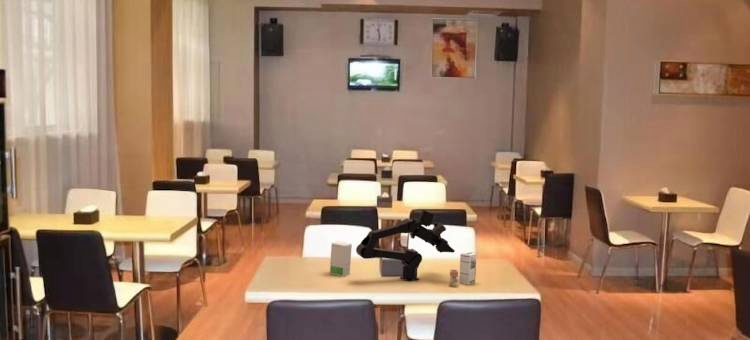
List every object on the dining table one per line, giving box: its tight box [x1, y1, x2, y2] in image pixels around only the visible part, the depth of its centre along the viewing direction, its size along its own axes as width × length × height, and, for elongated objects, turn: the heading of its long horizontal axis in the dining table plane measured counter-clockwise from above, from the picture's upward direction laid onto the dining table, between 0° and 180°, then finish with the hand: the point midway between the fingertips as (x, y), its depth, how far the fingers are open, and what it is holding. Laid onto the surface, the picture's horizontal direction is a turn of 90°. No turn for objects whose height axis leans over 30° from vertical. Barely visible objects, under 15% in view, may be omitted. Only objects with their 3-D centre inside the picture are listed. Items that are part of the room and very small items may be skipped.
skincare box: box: [329, 240, 353, 278], centre depth 339 cm, size 8×7×16 cm
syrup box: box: [458, 251, 477, 286], centre depth 333 cm, size 6×6×14 cm
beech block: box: [448, 275, 459, 288], centre depth 327 cm, size 4×4×4 cm
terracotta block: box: [449, 269, 459, 278], centre depth 339 cm, size 4×4×4 cm
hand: (451, 248), depth 339 cm, fingers open, 9 cm apart
